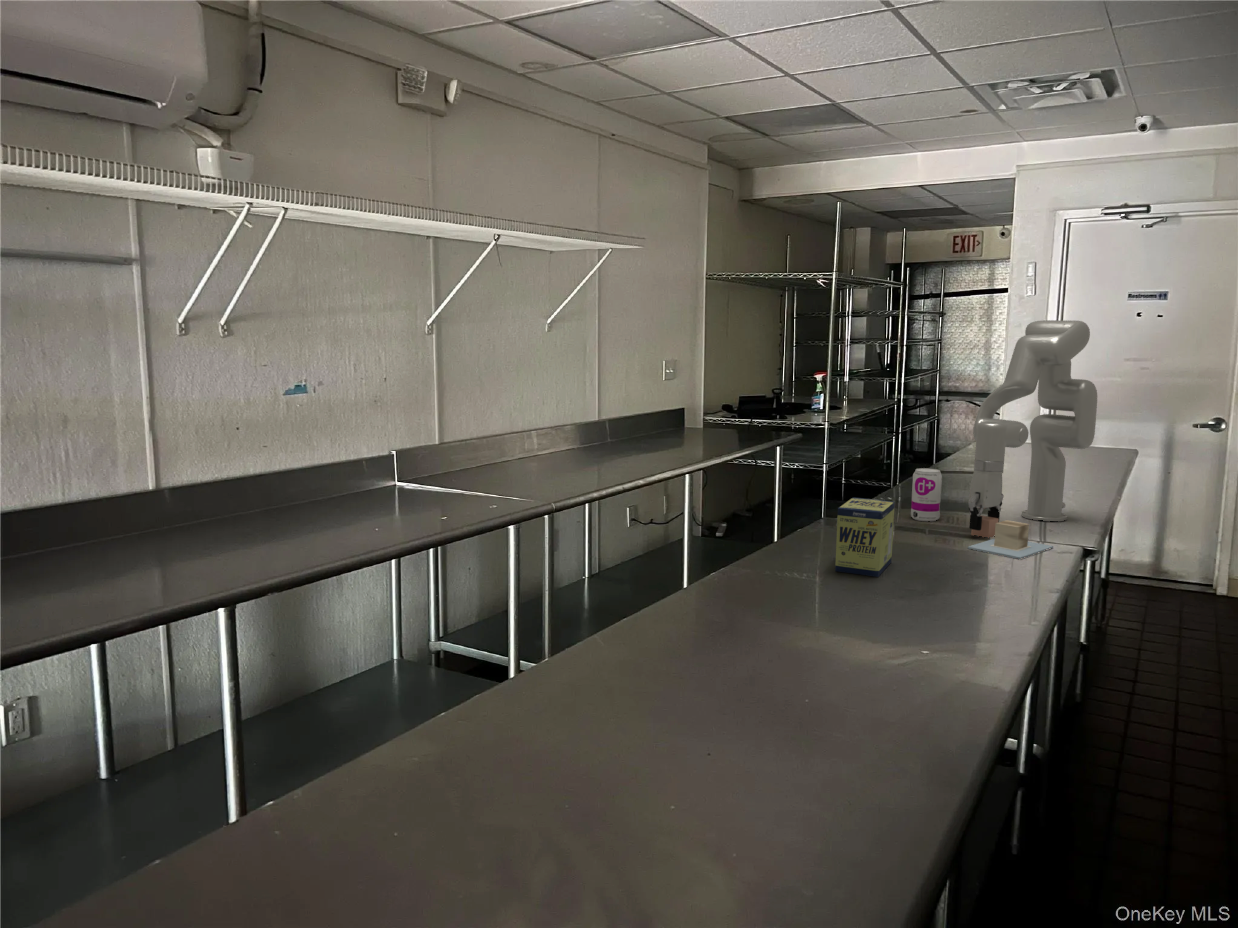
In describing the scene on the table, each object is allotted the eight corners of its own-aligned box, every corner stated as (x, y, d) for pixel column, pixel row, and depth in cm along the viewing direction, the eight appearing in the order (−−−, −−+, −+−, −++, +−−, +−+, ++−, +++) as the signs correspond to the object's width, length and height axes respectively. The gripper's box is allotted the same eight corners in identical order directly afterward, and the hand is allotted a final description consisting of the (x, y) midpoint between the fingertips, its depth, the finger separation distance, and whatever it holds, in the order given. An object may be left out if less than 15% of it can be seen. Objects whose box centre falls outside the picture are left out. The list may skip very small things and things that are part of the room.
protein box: (834, 571, 210) (837, 507, 208) (849, 556, 224) (852, 496, 221) (879, 577, 205) (882, 512, 203) (892, 562, 219) (895, 500, 217)
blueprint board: (1001, 538, 244) (1001, 535, 243) (1053, 548, 233) (1053, 545, 233) (967, 548, 232) (967, 546, 232) (1020, 559, 222) (1020, 556, 221)
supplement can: (934, 523, 262) (937, 473, 260) (906, 519, 267) (909, 470, 265) (943, 518, 269) (946, 469, 266) (915, 514, 273) (918, 467, 271)
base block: (1005, 541, 237) (1006, 520, 236) (1027, 546, 232) (1029, 523, 231) (994, 545, 233) (995, 523, 232) (1016, 549, 228) (1018, 527, 227)
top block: (980, 532, 251) (981, 515, 250) (997, 535, 247) (998, 518, 246) (971, 535, 248) (972, 517, 247) (988, 538, 244) (989, 520, 243)
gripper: (991, 462, 253) (986, 521, 255) (959, 467, 242) (955, 528, 244) (1017, 465, 247) (1012, 525, 249) (986, 471, 236) (981, 533, 238)
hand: (984, 527), depth 247 cm, fingers open, 9 cm apart
